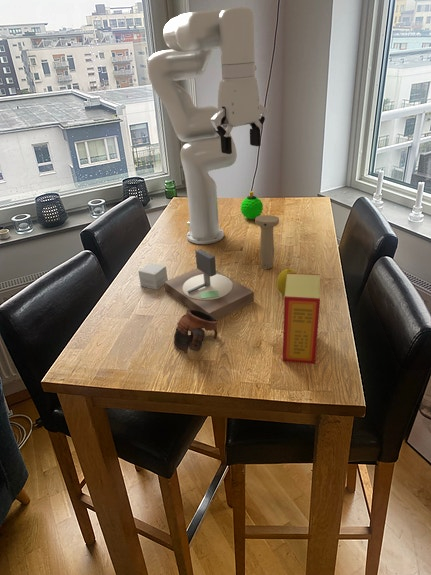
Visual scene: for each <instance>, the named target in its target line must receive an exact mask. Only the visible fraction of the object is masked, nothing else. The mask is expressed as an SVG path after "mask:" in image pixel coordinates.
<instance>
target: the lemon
mask: <svg viewBox="0 0 431 575" xmlns="http://www.w3.org/2000/svg"><path fill="white" fill-rule="evenodd" d="M287 273H297V272H296V271H295V270H293V269H291V268H287V269H283V270H282V271H280V272H279V275H277V276H278V277H277V279H276V286H277V290H278V291H279V293H280V294H282V296H285V288H286V279H287Z"/></svg>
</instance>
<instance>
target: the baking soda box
mask: <svg viewBox="0 0 431 575" xmlns="http://www.w3.org/2000/svg"><path fill="white" fill-rule="evenodd" d="M320 278H321V276H320V274H318V273H317V274H316V273H297V272H296V273H287V279H286V288H285V295H284V301H283V302H284V304H283V332H282V333H283V334H282V335H283V342H282V343H283V344H282V345H283V346H282V362H288V363H289V362H291V363H302V364H311V365H312V364H316V354H317V342H318V333H319V332H318V331H319V330H318V329H319V318H320V307H321V306H320V304H321V282H320V281H321V279H320Z"/></svg>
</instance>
